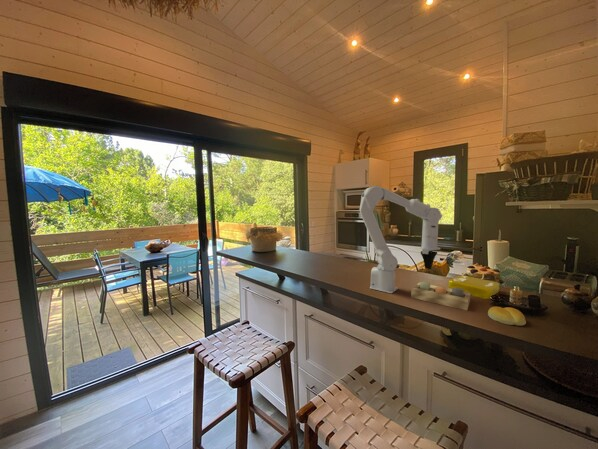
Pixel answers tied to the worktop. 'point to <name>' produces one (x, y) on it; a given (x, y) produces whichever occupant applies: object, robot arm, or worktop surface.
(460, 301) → the button panel
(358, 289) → the worktop surface
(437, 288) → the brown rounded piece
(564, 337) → the worktop surface
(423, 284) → the sage button
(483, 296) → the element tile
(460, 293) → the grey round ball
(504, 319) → the bread roll
